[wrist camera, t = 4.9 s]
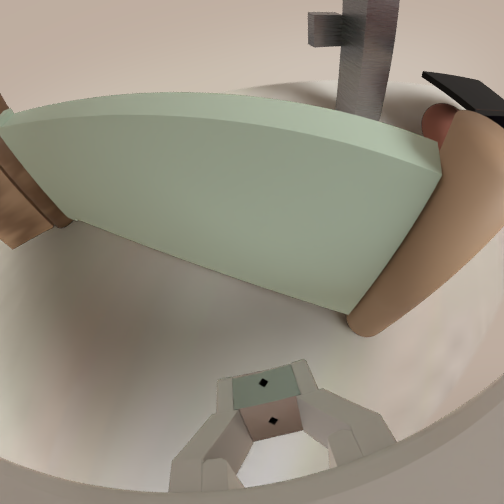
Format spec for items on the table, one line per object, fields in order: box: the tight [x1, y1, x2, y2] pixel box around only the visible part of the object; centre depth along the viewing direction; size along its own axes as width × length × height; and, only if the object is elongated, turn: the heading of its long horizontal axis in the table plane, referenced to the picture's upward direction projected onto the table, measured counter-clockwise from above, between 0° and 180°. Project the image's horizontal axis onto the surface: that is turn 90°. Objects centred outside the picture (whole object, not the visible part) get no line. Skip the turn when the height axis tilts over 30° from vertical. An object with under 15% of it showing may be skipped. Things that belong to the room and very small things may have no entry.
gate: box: [0, 92, 504, 337], centre depth 12 cm, size 24×2×12 cm, turn 68°
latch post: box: [308, 0, 399, 121], centre depth 17 cm, size 6×4×14 cm
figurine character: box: [422, 71, 504, 151], centre depth 19 cm, size 7×8×15 cm
